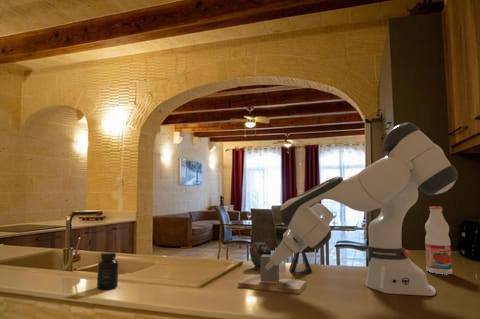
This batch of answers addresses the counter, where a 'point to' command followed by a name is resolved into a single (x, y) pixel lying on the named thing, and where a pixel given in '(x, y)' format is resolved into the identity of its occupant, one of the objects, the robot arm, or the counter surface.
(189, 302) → the counter surface
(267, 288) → the board
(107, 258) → the supplement bottle
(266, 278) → the sanding block
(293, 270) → the dark brown triangular frame
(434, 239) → the fruit juice
